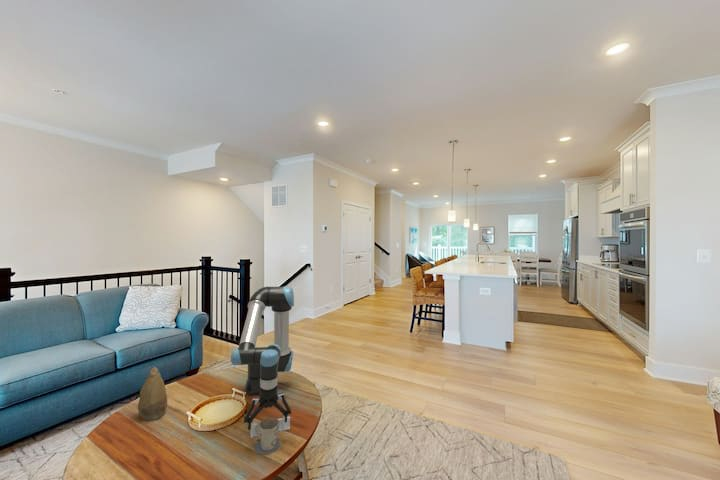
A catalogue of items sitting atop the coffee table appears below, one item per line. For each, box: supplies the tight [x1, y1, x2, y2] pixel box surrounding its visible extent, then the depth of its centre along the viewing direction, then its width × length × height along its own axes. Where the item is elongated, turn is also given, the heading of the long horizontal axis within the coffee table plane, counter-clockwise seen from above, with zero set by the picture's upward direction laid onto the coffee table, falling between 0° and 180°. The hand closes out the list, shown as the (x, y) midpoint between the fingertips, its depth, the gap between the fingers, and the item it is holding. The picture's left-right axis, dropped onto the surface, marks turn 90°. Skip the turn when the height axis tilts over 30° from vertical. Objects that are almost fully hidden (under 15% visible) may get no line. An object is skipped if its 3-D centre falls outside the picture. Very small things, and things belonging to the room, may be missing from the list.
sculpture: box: [137, 366, 168, 421], centre depth 145 cm, size 12×11×25 cm
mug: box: [255, 417, 279, 451], centre depth 127 cm, size 8×13×10 cm, turn 67°
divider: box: [253, 416, 291, 438], centre depth 136 cm, size 3×18×5 cm, turn 111°
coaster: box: [253, 437, 281, 456], centre depth 127 cm, size 11×11×1 cm
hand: (267, 432), depth 127 cm, fingers open, 13 cm apart
